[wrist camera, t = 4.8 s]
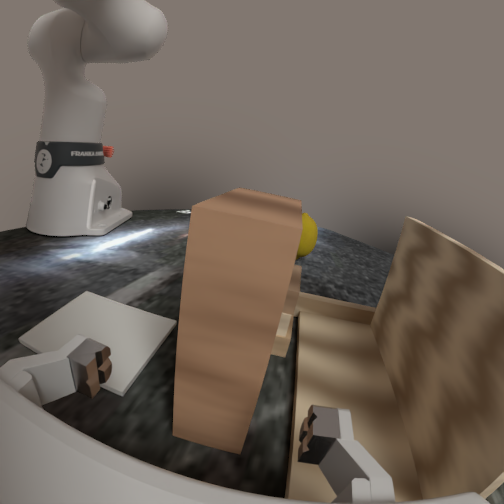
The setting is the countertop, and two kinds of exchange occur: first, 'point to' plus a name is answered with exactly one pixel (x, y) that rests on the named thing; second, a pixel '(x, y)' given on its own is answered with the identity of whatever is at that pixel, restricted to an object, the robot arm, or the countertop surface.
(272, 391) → the countertop surface
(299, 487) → the rack
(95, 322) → the pad
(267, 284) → the oak board
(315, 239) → the lemon
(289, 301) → the offcut stack
